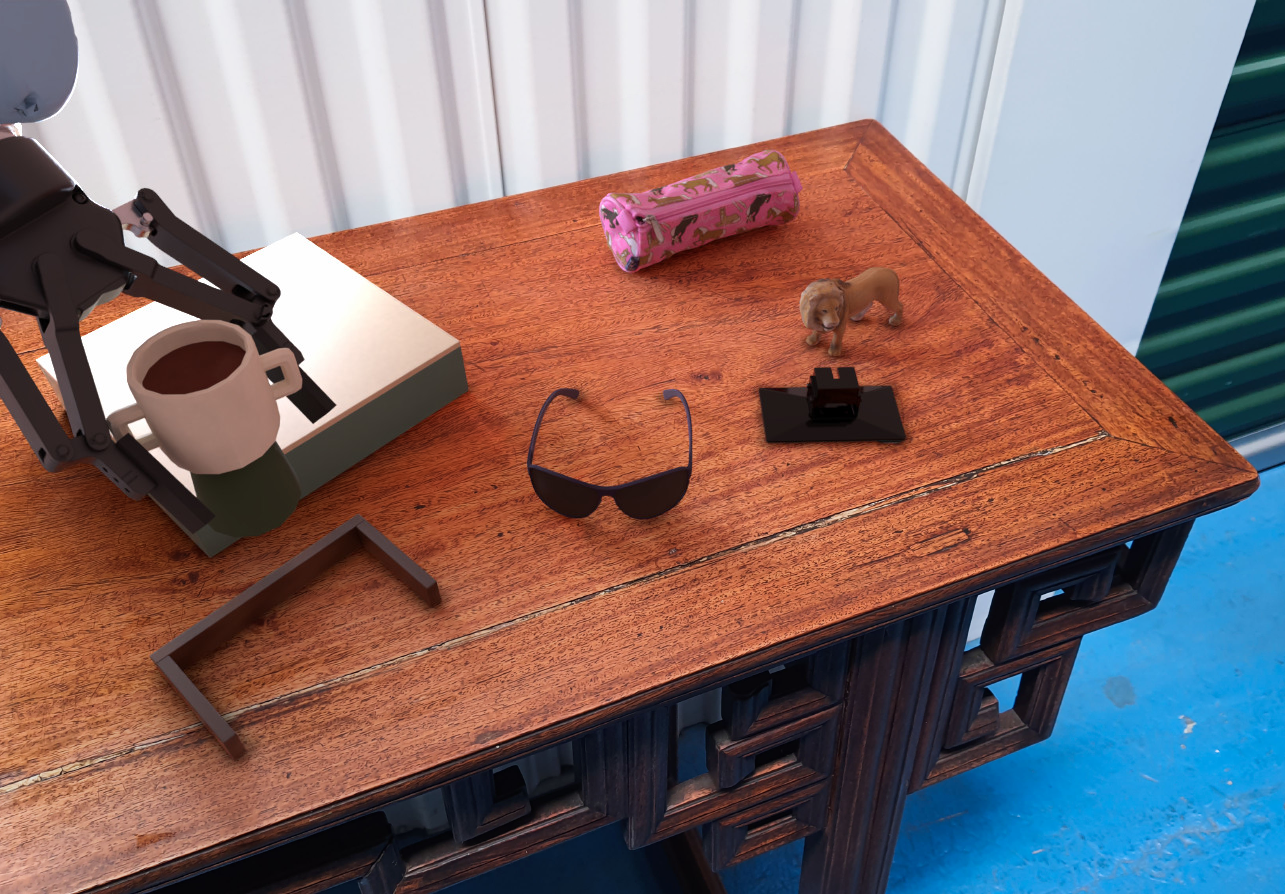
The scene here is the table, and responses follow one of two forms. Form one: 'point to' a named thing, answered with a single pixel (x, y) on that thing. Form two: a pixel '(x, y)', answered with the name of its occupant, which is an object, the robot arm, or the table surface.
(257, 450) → the character mug
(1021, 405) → the table surface
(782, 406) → the build plate
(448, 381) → the cream square platform
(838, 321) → the lion figurine
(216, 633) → the dark brown u-shaped bracket
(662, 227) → the pencil case
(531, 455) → the sunglasses
